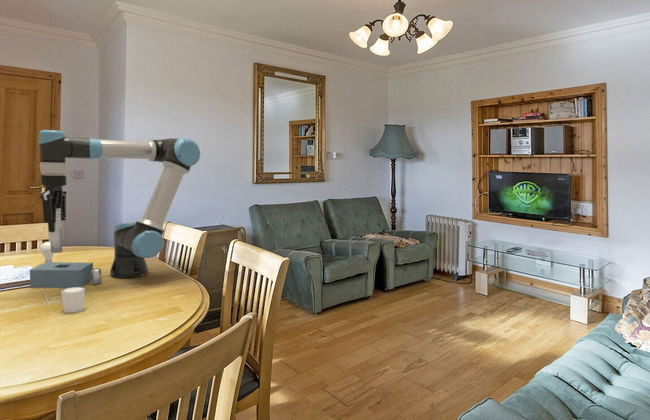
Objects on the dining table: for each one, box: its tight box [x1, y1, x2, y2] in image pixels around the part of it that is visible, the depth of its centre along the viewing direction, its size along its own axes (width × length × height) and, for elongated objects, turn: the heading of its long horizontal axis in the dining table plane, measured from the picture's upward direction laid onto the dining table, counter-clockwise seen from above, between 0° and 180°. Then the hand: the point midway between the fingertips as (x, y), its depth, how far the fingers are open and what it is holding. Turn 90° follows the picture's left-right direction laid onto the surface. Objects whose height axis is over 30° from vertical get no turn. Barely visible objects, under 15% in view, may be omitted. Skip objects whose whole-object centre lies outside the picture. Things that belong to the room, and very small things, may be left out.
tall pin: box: [49, 208, 63, 254], centre depth 146 cm, size 4×4×16 cm
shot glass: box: [60, 286, 86, 314], centre depth 137 cm, size 7×7×7 cm
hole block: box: [29, 261, 94, 289], centre depth 164 cm, size 18×12×7 cm, turn 98°
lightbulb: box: [39, 241, 55, 263], centre depth 189 cm, size 6×6×11 cm
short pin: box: [90, 268, 102, 286], centre depth 165 cm, size 4×4×6 cm
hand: (56, 239), depth 147 cm, fingers closed on tall pin, 3 cm apart
